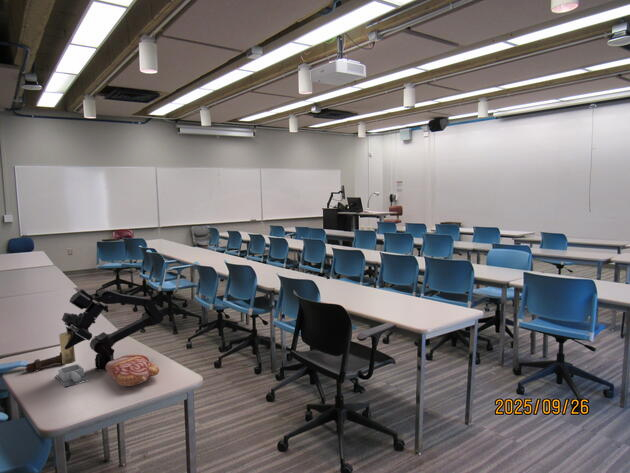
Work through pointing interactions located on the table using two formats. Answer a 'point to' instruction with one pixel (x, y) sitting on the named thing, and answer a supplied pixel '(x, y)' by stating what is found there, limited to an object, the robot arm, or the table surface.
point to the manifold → (71, 375)
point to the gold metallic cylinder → (68, 354)
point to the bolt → (43, 363)
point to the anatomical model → (131, 369)
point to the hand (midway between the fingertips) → (63, 347)
